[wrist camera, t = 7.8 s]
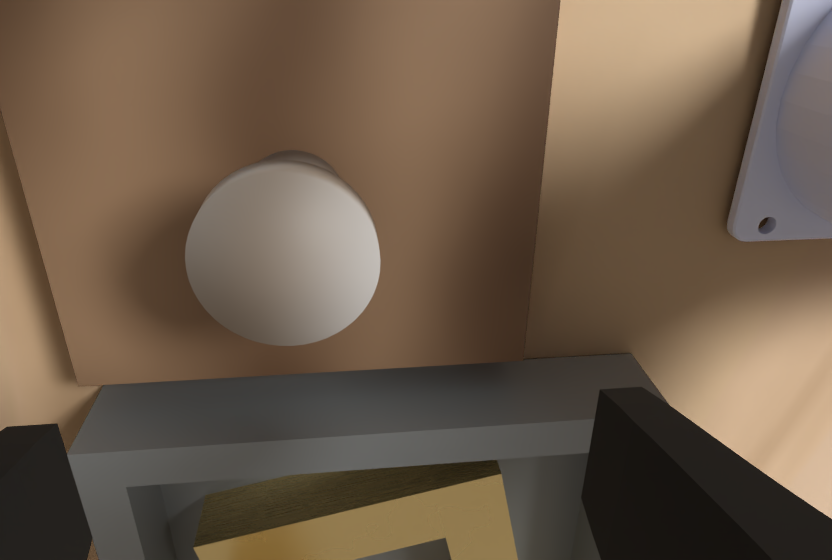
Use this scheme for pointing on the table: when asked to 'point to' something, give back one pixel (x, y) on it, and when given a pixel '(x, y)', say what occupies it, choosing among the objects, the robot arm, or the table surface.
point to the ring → (361, 514)
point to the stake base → (251, 92)
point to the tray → (345, 444)
